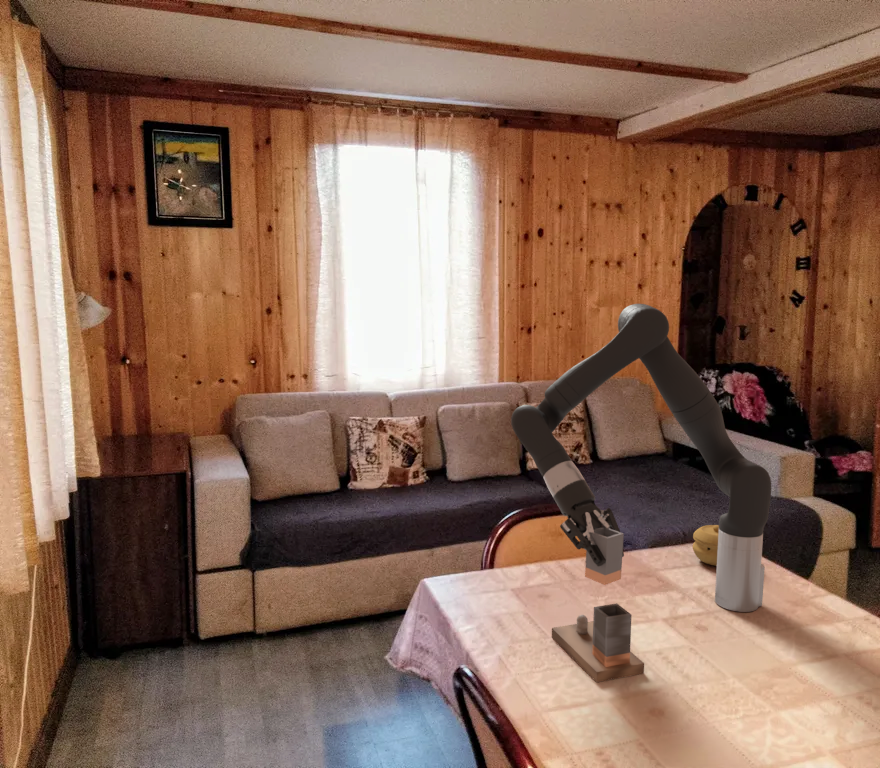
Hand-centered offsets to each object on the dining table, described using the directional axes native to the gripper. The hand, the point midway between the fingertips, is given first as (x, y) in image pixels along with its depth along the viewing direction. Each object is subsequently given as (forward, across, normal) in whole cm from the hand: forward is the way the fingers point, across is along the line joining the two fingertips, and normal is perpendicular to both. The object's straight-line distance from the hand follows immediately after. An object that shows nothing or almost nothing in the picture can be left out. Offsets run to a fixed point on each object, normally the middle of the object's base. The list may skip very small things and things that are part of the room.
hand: (611, 560), depth 144 cm
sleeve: (+2, 0, +4) cm, 5 cm away
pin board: (+13, -4, +12) cm, 18 cm away
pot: (+5, +57, +20) cm, 61 cm away
